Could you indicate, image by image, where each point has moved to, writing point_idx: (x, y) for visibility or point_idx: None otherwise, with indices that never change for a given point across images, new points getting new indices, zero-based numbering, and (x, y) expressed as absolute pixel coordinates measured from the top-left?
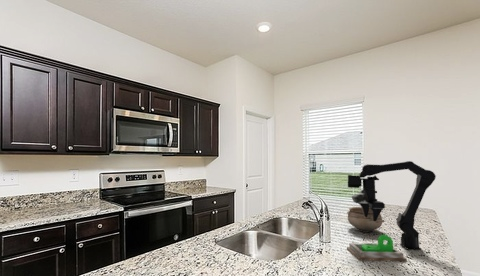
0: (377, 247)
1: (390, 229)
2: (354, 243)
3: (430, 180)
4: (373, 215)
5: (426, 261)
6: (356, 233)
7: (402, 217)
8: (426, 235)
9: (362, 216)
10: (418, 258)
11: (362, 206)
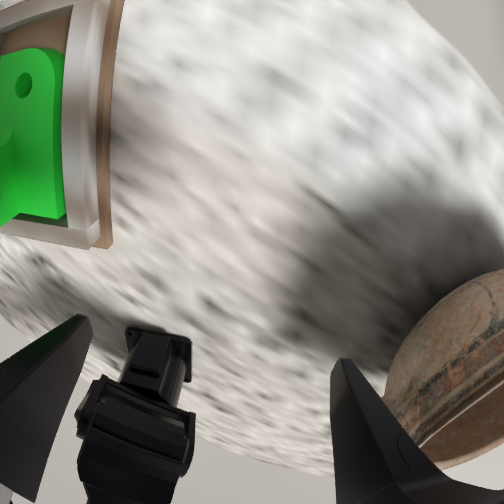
0: (8, 137)
1: None
2: (85, 12)
3: None
4: (15, 356)
5: (22, 291)
6: (444, 240)
7: (79, 465)
8: (299, 453)
9: (470, 366)
10: (39, 287)
11: (398, 493)
